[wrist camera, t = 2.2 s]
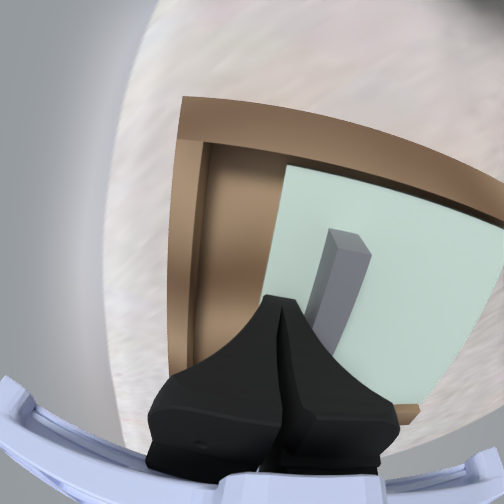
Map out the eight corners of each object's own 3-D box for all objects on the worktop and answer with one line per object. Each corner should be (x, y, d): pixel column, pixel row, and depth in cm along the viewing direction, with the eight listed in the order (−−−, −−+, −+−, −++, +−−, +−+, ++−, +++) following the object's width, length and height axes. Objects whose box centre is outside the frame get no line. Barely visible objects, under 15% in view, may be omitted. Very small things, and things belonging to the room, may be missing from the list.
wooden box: (399, 395, 17) (408, 424, 15) (183, 368, 18) (170, 399, 15) (497, 185, 11) (530, 199, 8) (204, 103, 11) (182, 96, 9)
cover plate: (418, 392, 15) (429, 426, 12) (242, 378, 16) (235, 419, 13) (503, 227, 10) (538, 249, 8) (286, 162, 11) (287, 171, 8)
